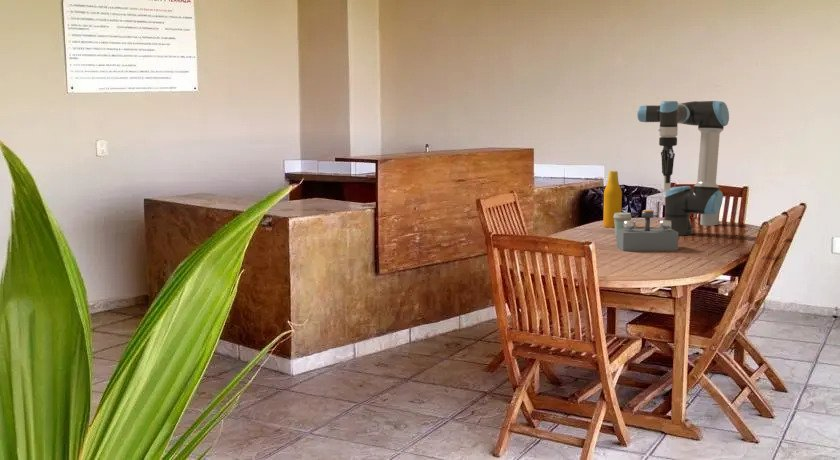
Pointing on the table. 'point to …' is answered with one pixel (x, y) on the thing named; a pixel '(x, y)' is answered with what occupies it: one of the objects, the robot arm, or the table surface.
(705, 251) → the table surface
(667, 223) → the knob
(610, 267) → the table surface
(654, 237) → the console
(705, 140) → the robot arm
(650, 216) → the pot knob
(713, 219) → the cup
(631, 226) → the knob
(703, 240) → the table surface
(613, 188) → the beer bottle
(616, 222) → the coffee cup
